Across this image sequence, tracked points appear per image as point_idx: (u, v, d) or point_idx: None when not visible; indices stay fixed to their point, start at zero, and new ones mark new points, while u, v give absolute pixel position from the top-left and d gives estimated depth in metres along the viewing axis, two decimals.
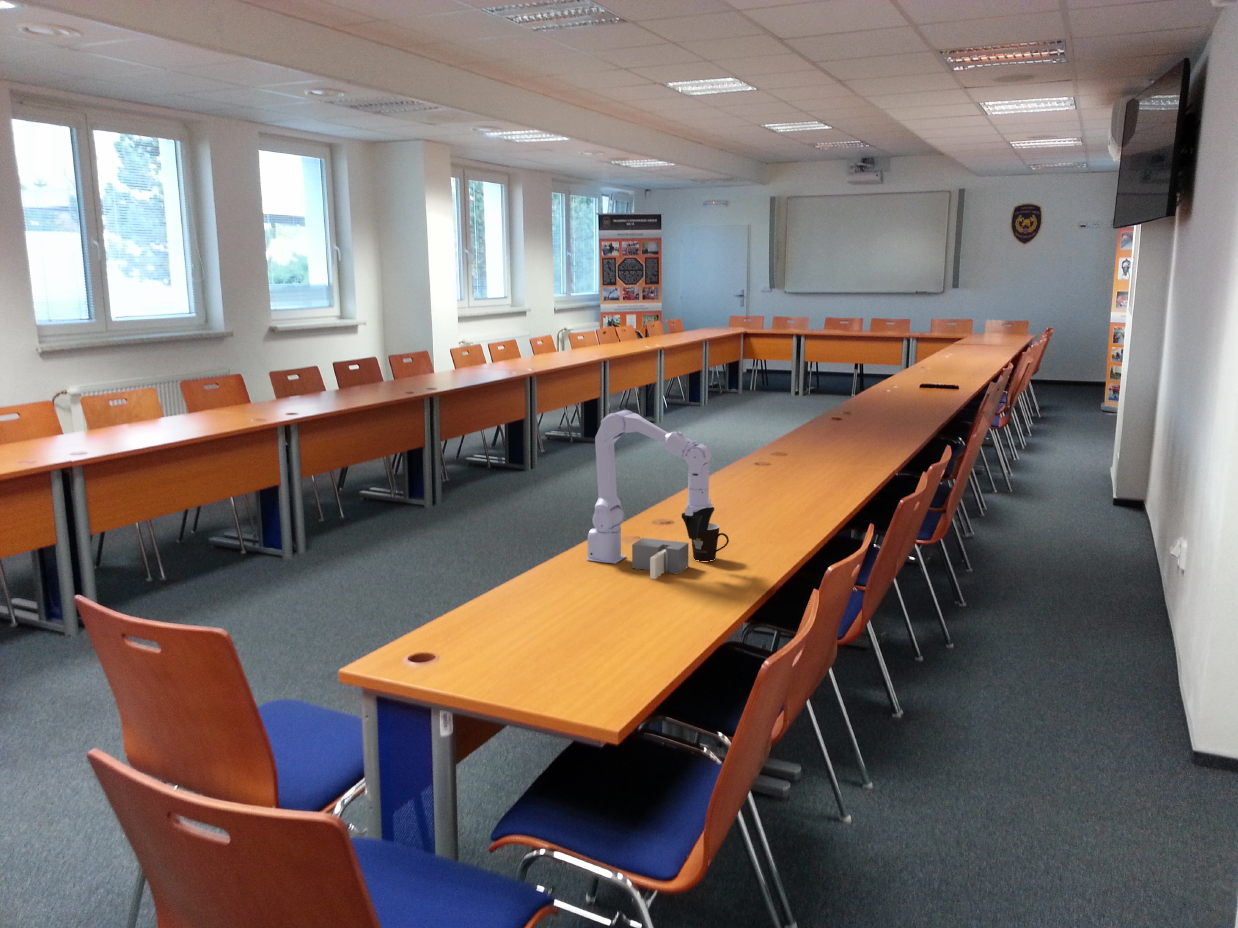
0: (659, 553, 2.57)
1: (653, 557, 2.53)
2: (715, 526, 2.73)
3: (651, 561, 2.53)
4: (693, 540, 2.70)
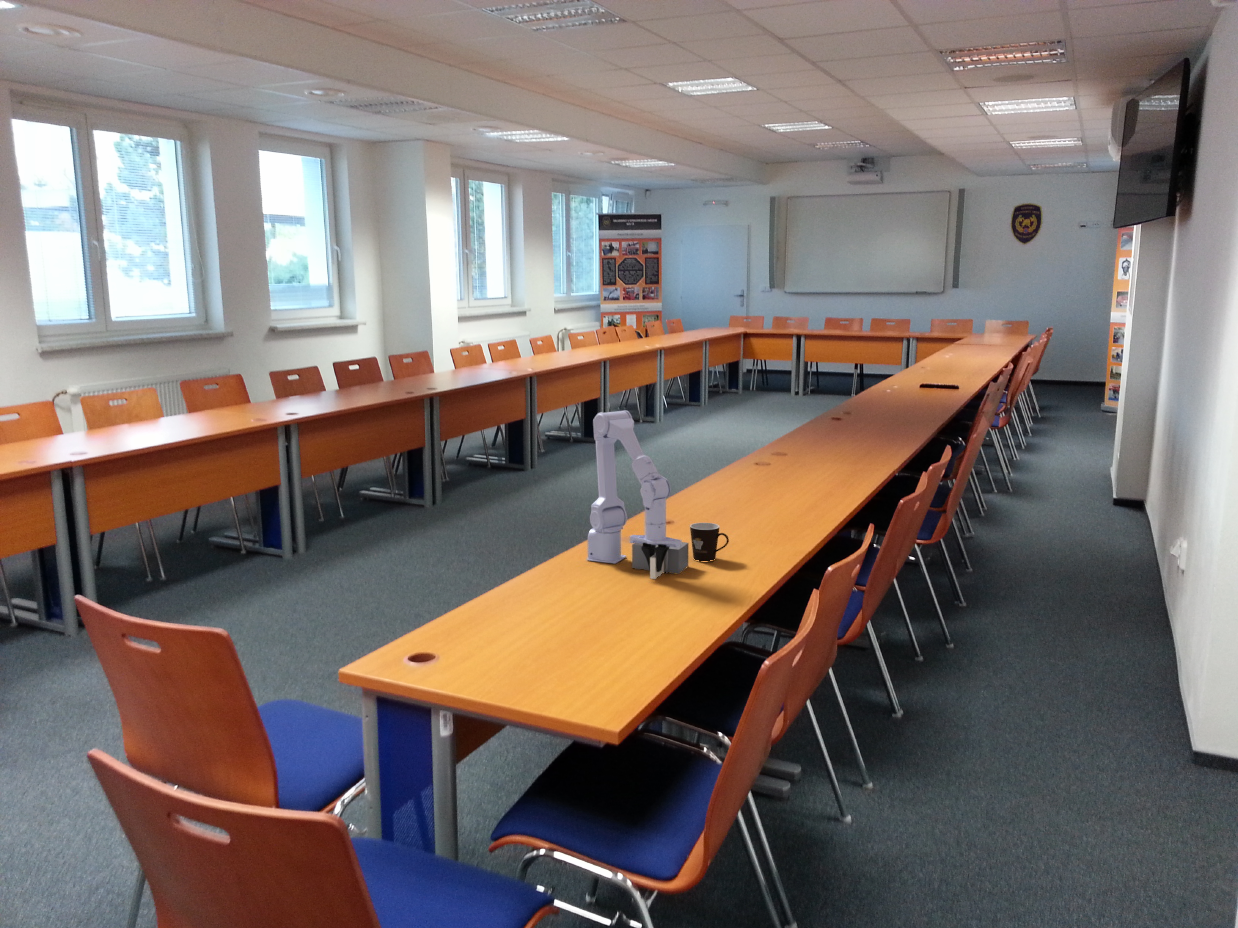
0: None
1: (653, 557, 2.53)
2: (715, 526, 2.73)
3: (651, 561, 2.53)
4: (693, 540, 2.70)
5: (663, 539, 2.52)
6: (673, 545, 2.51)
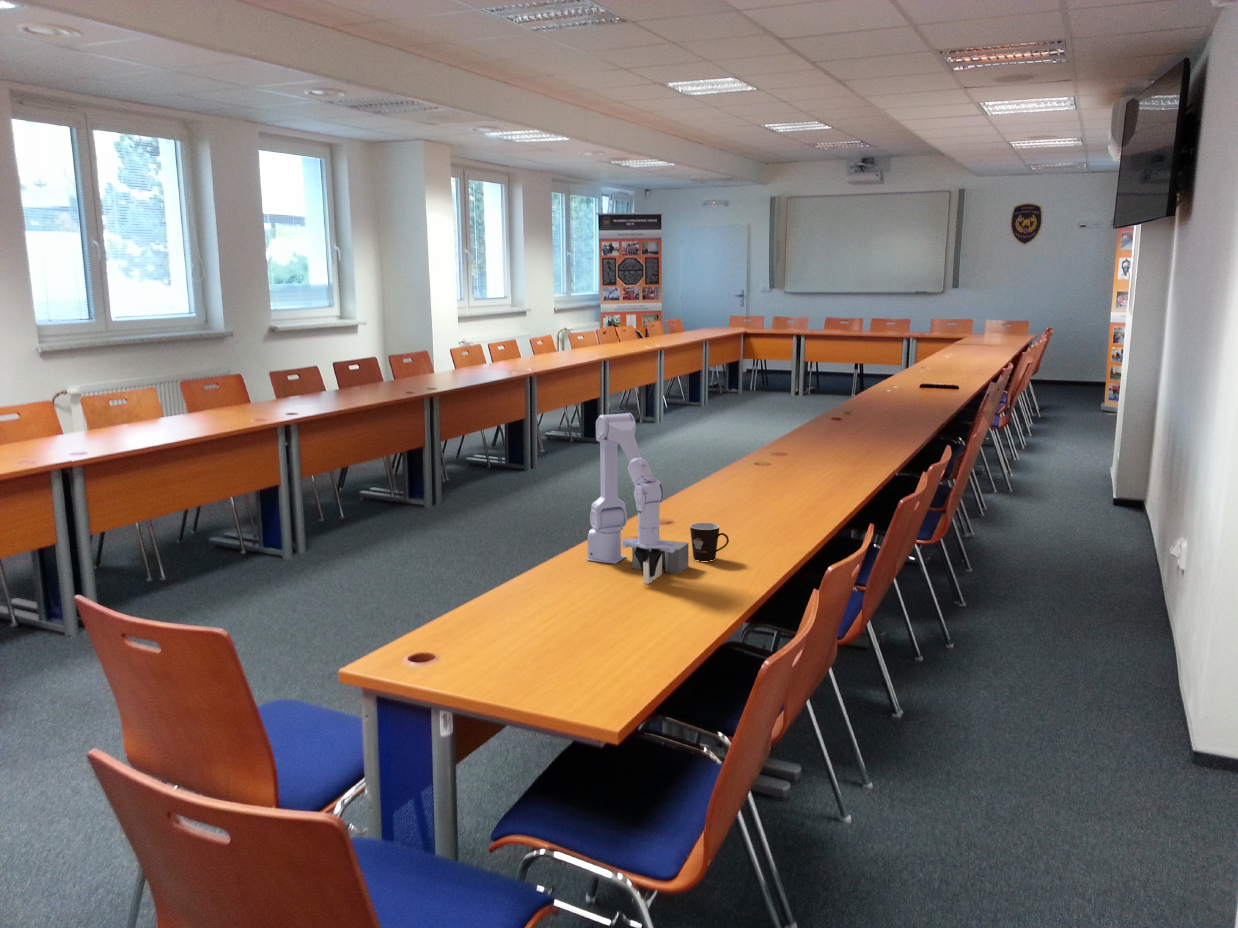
0: None
1: (646, 561, 2.49)
2: (715, 526, 2.73)
3: (645, 565, 2.48)
4: (693, 540, 2.70)
5: (656, 543, 2.47)
6: (667, 549, 2.47)
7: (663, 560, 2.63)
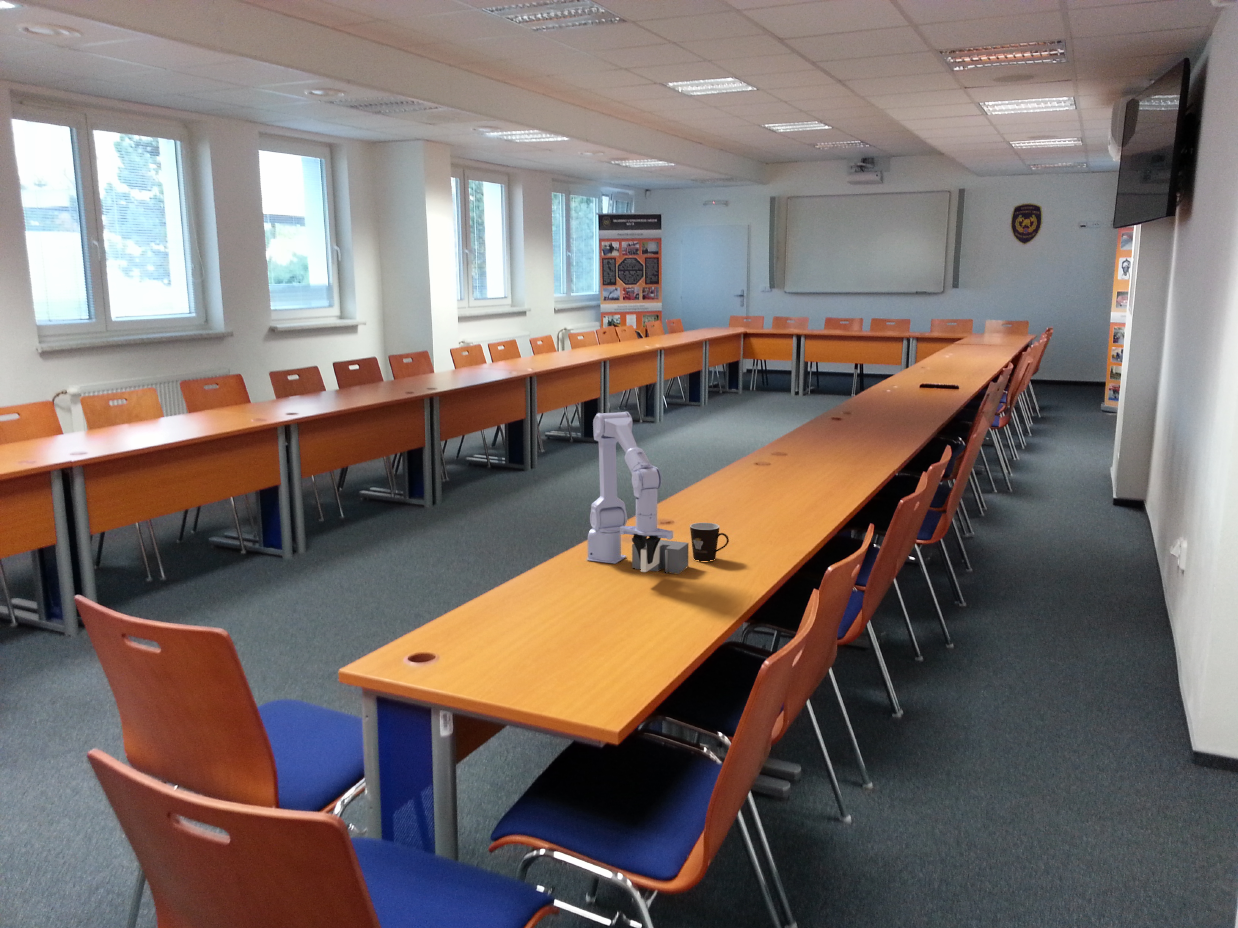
0: None
1: (644, 549, 2.47)
2: (715, 526, 2.73)
3: (642, 553, 2.46)
4: (693, 540, 2.70)
5: (654, 530, 2.45)
6: (664, 536, 2.45)
7: (663, 560, 2.63)
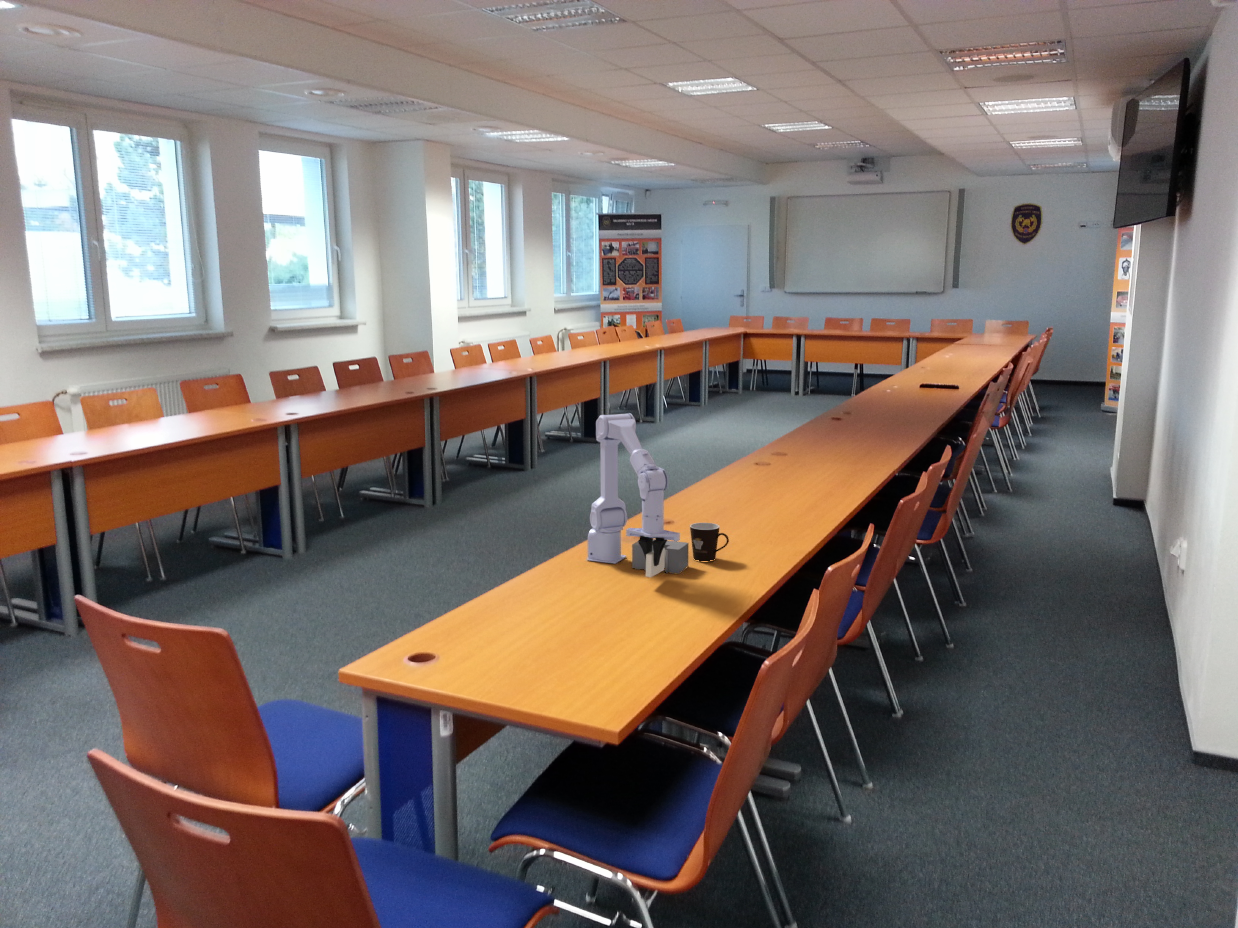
0: None
1: (649, 554, 2.45)
2: (715, 526, 2.73)
3: (647, 558, 2.44)
4: (693, 540, 2.70)
5: (661, 532, 2.44)
6: (671, 538, 2.44)
7: None
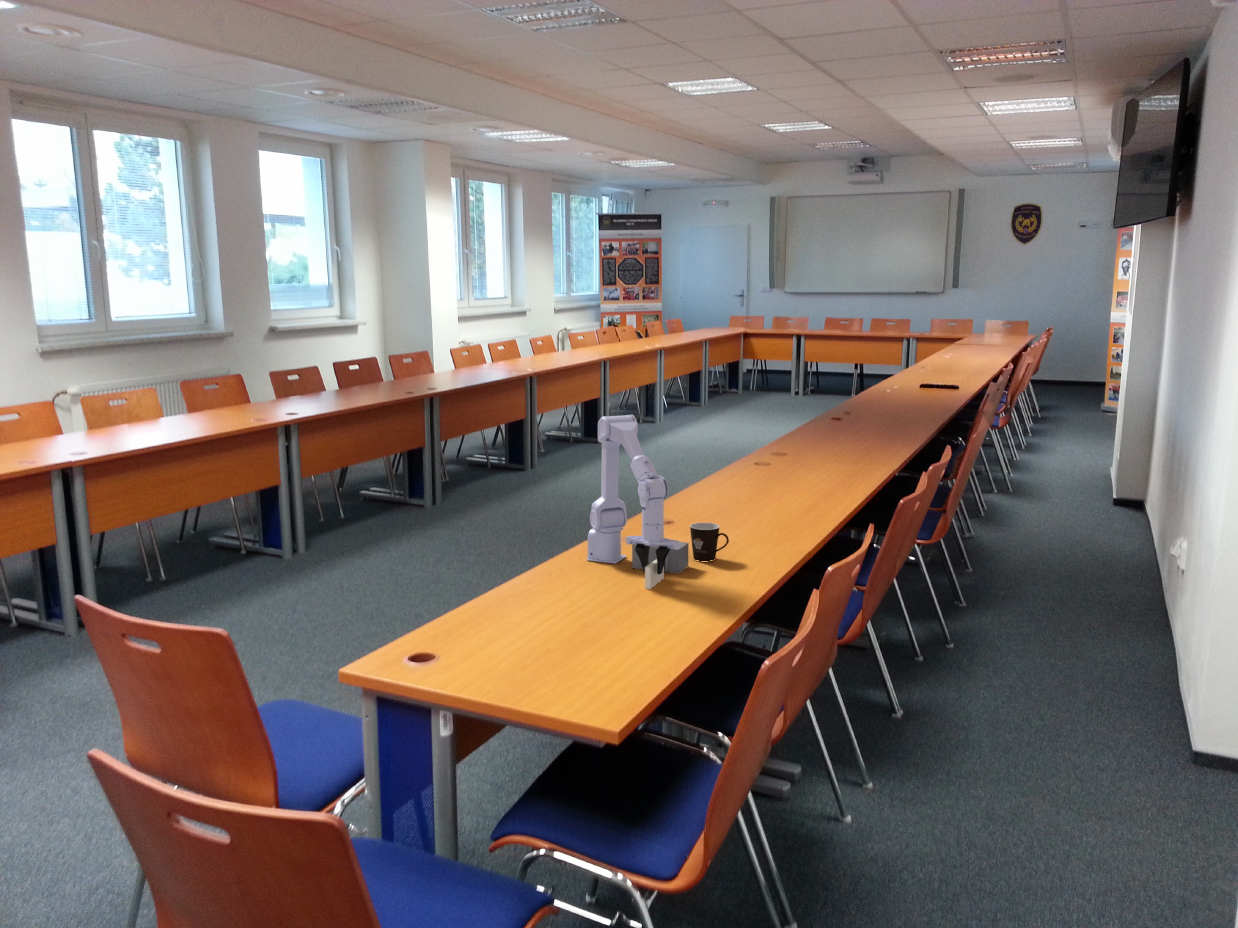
0: (654, 562, 2.49)
1: (648, 566, 2.45)
2: (715, 526, 2.73)
3: (646, 570, 2.44)
4: (693, 540, 2.70)
5: (661, 540, 2.44)
6: (671, 546, 2.44)
7: None
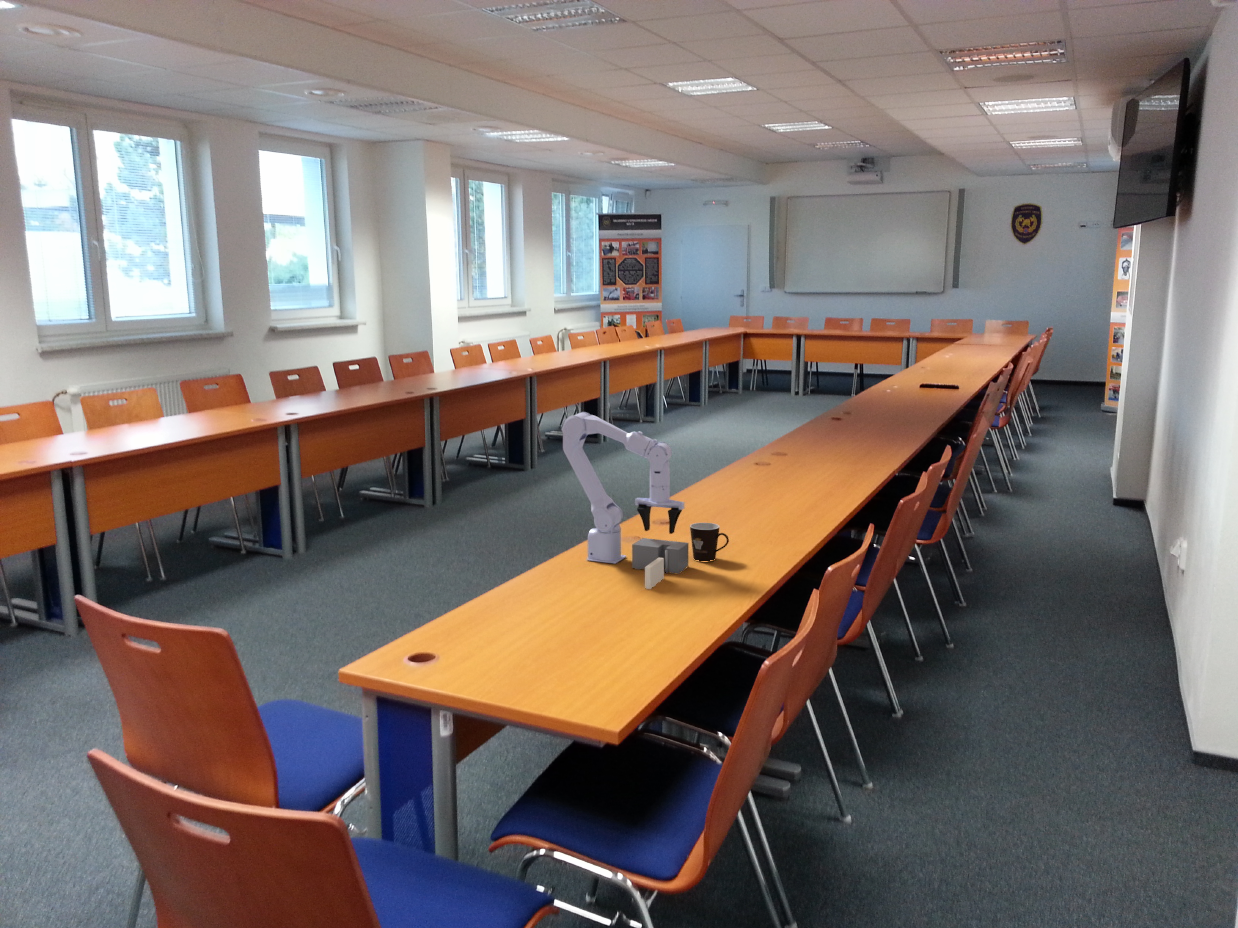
0: (654, 562, 2.49)
1: (648, 566, 2.45)
2: (715, 526, 2.73)
3: (646, 570, 2.44)
4: (693, 540, 2.70)
5: (667, 501, 2.63)
6: (676, 507, 2.63)
7: None
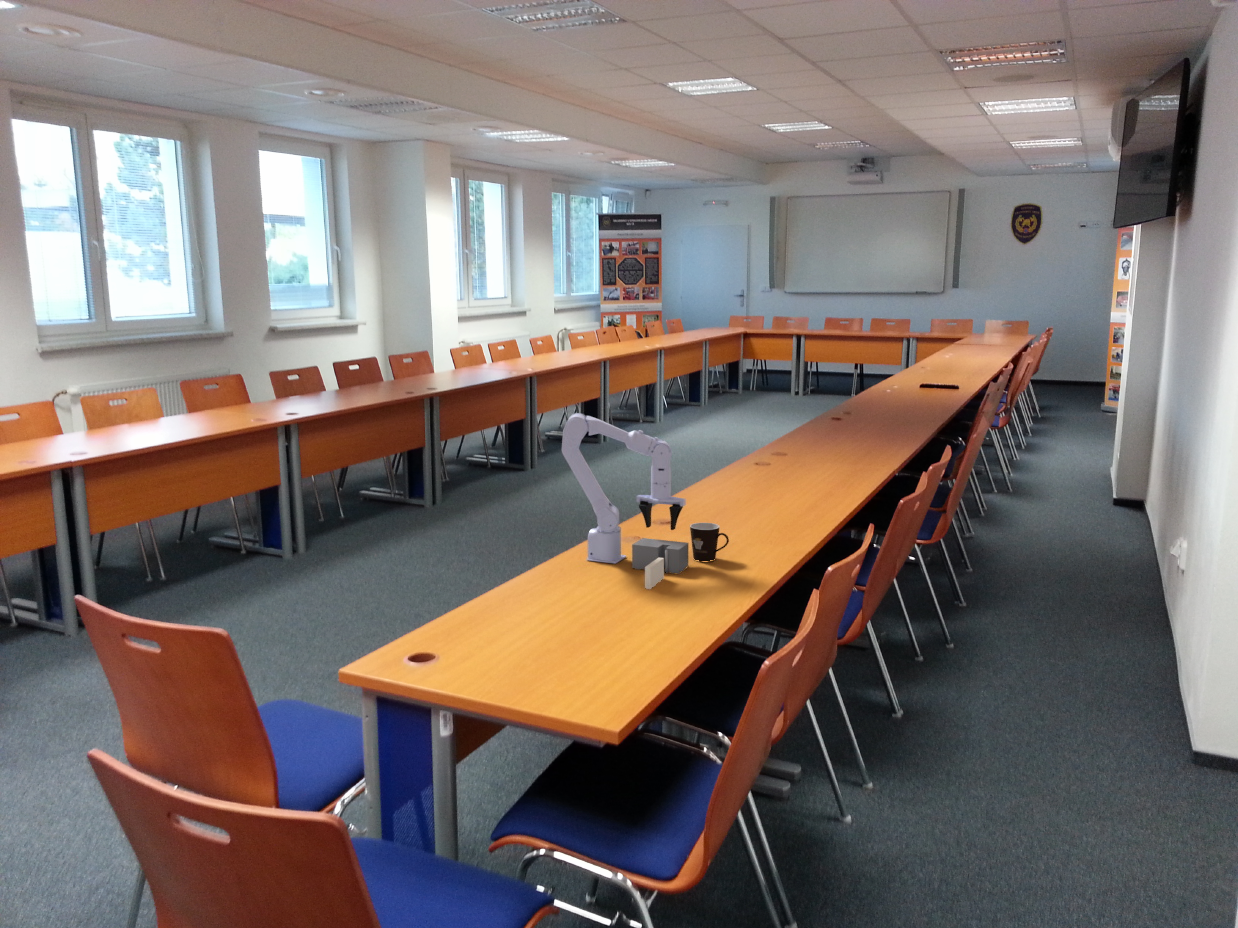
0: (654, 562, 2.49)
1: (648, 566, 2.45)
2: (715, 526, 2.73)
3: (646, 570, 2.44)
4: (693, 540, 2.70)
5: (668, 498, 2.68)
6: (677, 503, 2.67)
7: None
